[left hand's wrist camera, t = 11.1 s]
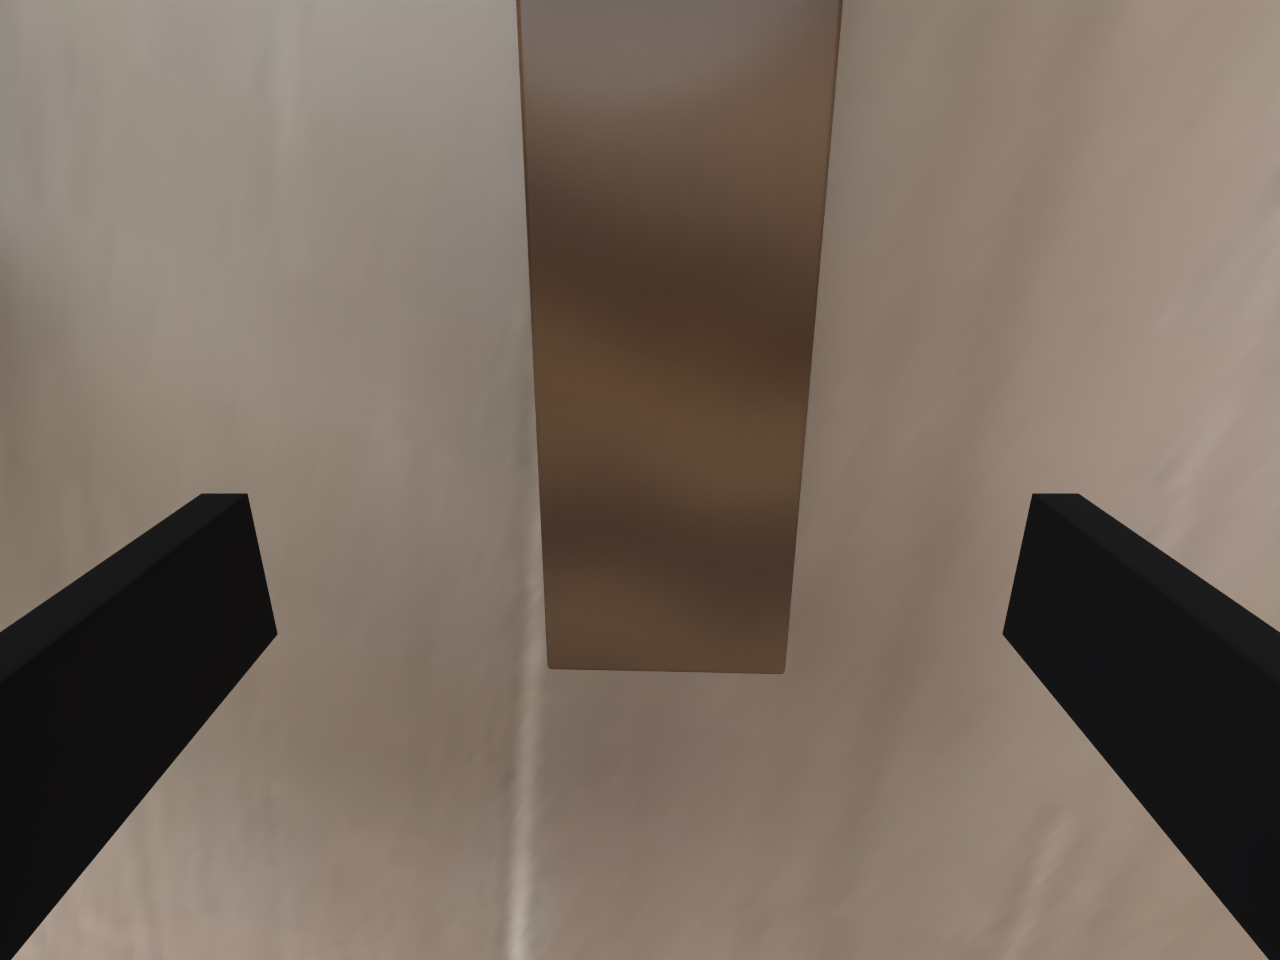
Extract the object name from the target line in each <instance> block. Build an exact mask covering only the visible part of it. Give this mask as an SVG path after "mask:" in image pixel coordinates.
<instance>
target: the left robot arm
mask: <svg viewBox="0 0 1280 960" xmlns="http://www.w3.org/2000/svg"><path fill="white" fill-rule="evenodd" d="M276 635H277V629H276V625H275V620H274V615H273V611H272V606H271V601H270V597H269V592H268V587H267V583H266V578H265V573H264V569H263V564H262V559H261V555H260V550H259V545H258V541H257V536H256V531H255V527H254V522H253V517H252V513H251V508H250V503H249V499H248V494H200V495H199V496H197V497H196V498H195V499H193V500H192V501H190V502H189V503H187V504H186V505H184V506H183V507H181V508H180V509H179V510H177V511H176V512H174V513H173V514H171V515H170V516H168V517H167V518H166V519H164V520H163V521H161V522H160V523H158V524H157V525H155V526H154V527H152V528H151V529H150V530H148V531H147V532H145V533H144V534H142V535H141V536H139V537H138V538H136V539H135V540H134V541H132V542H131V543H129V544H128V545H126V546H125V547H123V548H122V549H121V550H119V551H118V552H116V553H115V554H113V555H112V556H110V557H109V558H107V559H106V560H105V561H103V562H102V563H100V564H99V565H97V566H96V567H94V568H93V569H92V570H90V571H89V572H87V573H86V574H84V575H83V576H81V577H80V578H78V579H77V580H76V581H74V582H73V583H71V584H70V585H68V586H67V587H65V588H64V589H63V590H61V591H60V592H58V593H57V594H55V595H54V596H52V597H51V598H49V599H48V600H47V601H45V602H44V603H42V604H41V605H39V606H38V607H36V608H35V609H33V610H32V611H31V612H29V613H28V614H26V615H25V616H23V617H22V618H20V619H19V620H18V621H16V622H15V623H13V624H12V625H10V626H9V627H7V628H6V629H4V630H3V631H2V632H0V960H11V959H12V958H13V957H14V955H15V954H16V953H17V952H18V951H19V949H20V948H21V947H22V946H23V944H24V943H25V942H26V941H27V940H28V938H29V937H30V936H31V935H32V933H33V932H34V931H35V930H36V929H37V927H38V926H39V925H40V924H41V922H42V921H43V920H44V919H45V918H46V916H47V915H48V914H49V913H50V912H51V910H52V909H53V908H54V907H55V905H56V904H57V903H58V902H59V901H60V899H61V898H62V897H63V896H64V894H65V893H66V892H67V891H68V890H69V888H70V887H71V886H72V885H73V883H74V882H75V881H76V880H77V879H78V877H79V876H80V875H81V874H82V872H83V871H84V870H85V869H86V868H87V866H88V865H89V864H90V863H91V861H92V860H93V859H94V858H95V857H96V855H97V854H98V853H99V852H100V850H101V849H102V848H103V847H104V846H105V844H106V843H107V842H108V841H109V839H110V838H111V837H112V836H113V835H114V833H115V832H116V831H117V830H118V828H119V827H120V826H121V825H122V824H123V822H124V821H125V820H126V819H127V817H128V816H129V815H130V814H131V813H132V811H133V810H134V809H135V808H136V806H137V805H138V804H139V803H140V802H141V800H142V799H143V798H144V797H145V795H146V794H147V793H148V792H149V791H150V789H151V788H152V787H153V786H154V784H155V783H156V782H157V781H158V780H159V778H160V777H161V776H162V775H163V773H164V772H165V771H166V770H167V769H168V767H169V766H170V765H171V764H172V762H173V761H174V760H175V759H176V758H177V756H178V755H179V754H180V753H181V751H182V750H183V749H184V748H185V747H186V745H187V744H188V743H189V742H190V741H191V739H192V738H193V737H194V736H195V734H196V733H197V732H198V731H199V730H200V728H201V727H202V726H203V725H204V723H205V722H206V721H207V720H208V719H209V717H210V716H211V715H212V714H213V712H214V711H215V710H216V709H217V708H218V706H219V705H220V704H221V703H222V701H223V700H224V699H225V698H226V697H227V695H228V694H229V693H230V692H231V690H232V689H233V688H234V687H235V686H236V684H237V683H238V682H239V681H240V679H241V678H242V677H243V676H244V675H245V673H246V672H247V671H248V670H249V668H250V667H251V666H252V665H253V664H254V662H255V661H256V660H257V659H258V657H259V656H260V655H261V654H262V653H263V651H264V650H265V649H266V648H267V646H268V645H269V644H270V643H271V642H272V640H273V639H274V638H275V637H276ZM1003 635H1004V637H1005V638H1006V639H1007V640H1008V642H1009V643H1010V644H1011V645H1012V646H1013V648H1014V649H1015V650H1016V651H1017V653H1018V654H1019V655H1020V656H1021V657H1022V659H1023V660H1024V661H1025V662H1026V664H1027V665H1028V666H1029V667H1030V668H1031V670H1032V671H1033V672H1034V673H1035V675H1036V676H1037V677H1038V678H1039V679H1040V681H1041V682H1042V683H1043V684H1044V686H1045V687H1046V688H1047V689H1048V690H1049V692H1050V693H1051V694H1052V695H1053V697H1054V698H1055V699H1056V700H1057V701H1058V703H1059V704H1060V705H1061V706H1062V708H1063V709H1064V710H1065V711H1066V712H1067V714H1068V715H1069V716H1070V717H1071V719H1072V720H1073V721H1074V722H1075V723H1076V725H1077V726H1078V727H1079V728H1080V730H1081V731H1082V732H1083V733H1084V734H1085V736H1086V737H1087V738H1088V739H1089V741H1090V742H1091V743H1092V744H1093V745H1094V747H1095V748H1096V749H1097V750H1098V752H1099V753H1100V754H1101V755H1102V756H1103V758H1104V759H1105V760H1106V761H1107V762H1108V764H1109V765H1110V766H1111V767H1112V769H1113V770H1114V771H1115V772H1116V773H1117V775H1118V776H1119V777H1120V778H1121V780H1122V781H1123V782H1124V783H1125V784H1126V786H1127V787H1128V788H1129V789H1130V791H1131V792H1132V793H1133V794H1134V795H1135V797H1136V798H1137V799H1138V800H1139V802H1140V803H1141V804H1142V805H1143V806H1144V808H1145V809H1146V810H1147V811H1148V813H1149V814H1150V815H1151V816H1152V817H1153V819H1154V820H1155V821H1156V822H1157V824H1158V825H1159V826H1160V827H1161V828H1162V830H1163V831H1164V832H1165V833H1166V835H1167V836H1168V837H1169V838H1170V839H1171V841H1172V842H1173V843H1174V844H1175V846H1176V847H1177V848H1178V849H1179V850H1180V852H1181V853H1182V854H1183V855H1184V857H1185V858H1186V859H1187V860H1188V861H1189V863H1190V864H1191V865H1192V866H1193V868H1194V869H1195V870H1196V871H1197V872H1198V874H1199V875H1200V876H1201V877H1202V879H1203V880H1204V881H1205V882H1206V883H1207V885H1208V886H1209V887H1210V888H1211V890H1212V891H1213V892H1214V893H1215V894H1216V896H1217V897H1218V898H1219V899H1220V901H1221V902H1222V903H1223V904H1224V905H1225V907H1226V908H1227V909H1228V910H1229V912H1230V913H1231V914H1232V915H1233V916H1234V918H1235V919H1236V920H1237V921H1238V923H1239V924H1240V925H1241V926H1242V927H1243V929H1244V930H1245V931H1246V932H1247V933H1248V935H1249V936H1250V937H1251V938H1252V940H1253V941H1254V942H1255V943H1256V944H1257V946H1258V947H1259V948H1260V949H1261V951H1262V952H1263V953H1264V954H1265V955H1266V957H1267V958H1268V959H1269V960H1280V632H1278V631H1277V630H1276V629H1274V628H1273V627H1271V626H1270V625H1268V624H1267V623H1265V622H1264V621H1262V620H1261V619H1260V618H1258V617H1257V616H1255V615H1254V614H1252V613H1251V612H1249V611H1248V610H1247V609H1245V608H1244V607H1242V606H1241V605H1239V604H1238V603H1236V602H1235V601H1233V600H1232V599H1231V598H1229V597H1228V596H1226V595H1225V594H1223V593H1222V592H1220V591H1219V590H1217V589H1216V588H1215V587H1213V586H1212V585H1210V584H1209V583H1207V582H1206V581H1204V580H1203V579H1202V578H1200V577H1199V576H1197V575H1196V574H1194V573H1193V572H1191V571H1190V570H1188V569H1187V568H1186V567H1184V566H1183V565H1181V564H1180V563H1178V562H1177V561H1175V560H1174V559H1173V558H1171V557H1170V556H1168V555H1167V554H1165V553H1164V552H1162V551H1161V550H1159V549H1158V548H1157V547H1155V546H1154V545H1152V544H1151V543H1149V542H1148V541H1146V540H1145V539H1144V538H1142V537H1141V536H1139V535H1138V534H1136V533H1135V532H1133V531H1132V530H1130V529H1129V528H1128V527H1126V526H1125V525H1123V524H1122V523H1120V522H1119V521H1117V520H1116V519H1114V518H1113V517H1112V516H1110V515H1109V514H1107V513H1106V512H1104V511H1103V510H1101V509H1100V508H1099V507H1097V506H1096V505H1094V504H1093V503H1091V502H1090V501H1088V500H1087V499H1085V498H1084V497H1083V496H1081V495H1080V494H1032V499H1031V503H1030V508H1029V513H1028V517H1027V522H1026V527H1025V531H1024V536H1023V541H1022V545H1021V550H1020V555H1019V559H1018V564H1017V569H1016V573H1015V578H1014V583H1013V587H1012V592H1011V597H1010V601H1009V606H1008V611H1007V615H1006V620H1005V625H1004V629H1003Z"/></svg>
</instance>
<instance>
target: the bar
mask: <svg viewBox="0 0 1280 960" xmlns="http://www.w3.org/2000/svg"><path fill="white" fill-rule="evenodd" d="M842 5H843V0H516V7H517V28H518V49H519V70H520V92H521V113H522V134H523V155H524V176H525V197H526V219H527V240H528V261H529V282H530V303H531V325H532V346H533V367H534V388H535V409H536V430H537V452H538V473H539V494H540V515H541V536H542V558H543V579H544V600H545V621H546V642H547V663H548V667H549V668H550V669H578V670H623V671H669V672H715V673H760V674H783V673H784V671H785V663H786V651H787V640H788V628H789V617H790V605H791V593H792V582H793V570H794V559H795V547H796V536H797V524H798V513H799V501H800V490H801V478H802V467H803V455H804V444H805V432H806V420H807V409H808V397H809V386H810V374H811V363H812V351H813V340H814V328H815V317H816V305H817V294H818V282H819V271H820V259H821V247H822V236H823V224H824V213H825V201H826V190H827V178H828V167H829V155H830V144H831V132H832V121H833V109H834V97H835V86H836V74H837V63H838V51H839V40H840V28H841V17H842Z"/></svg>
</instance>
